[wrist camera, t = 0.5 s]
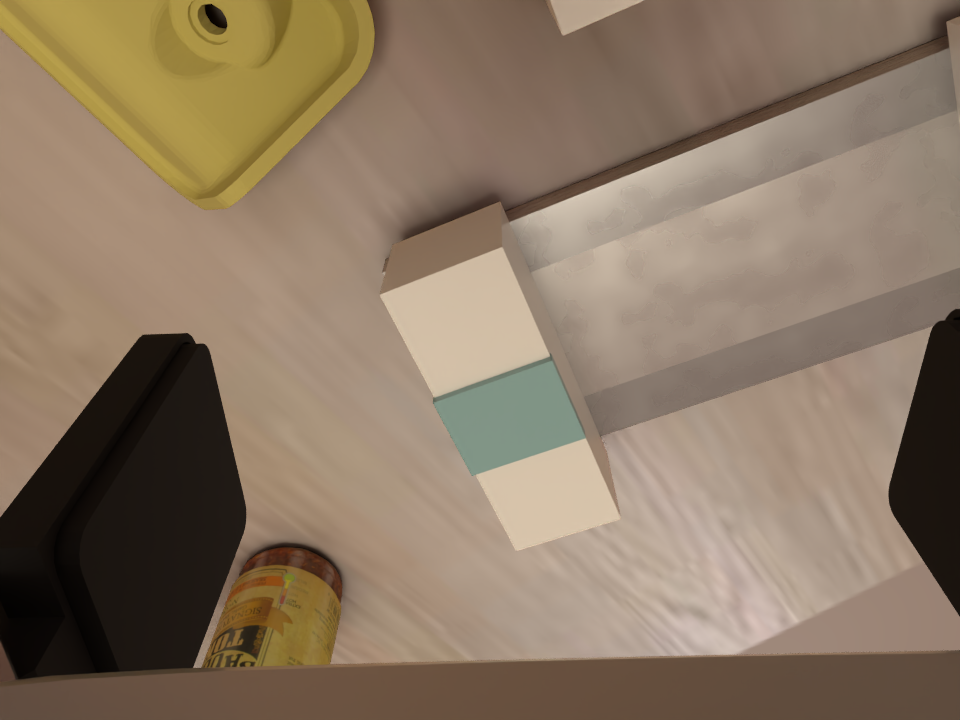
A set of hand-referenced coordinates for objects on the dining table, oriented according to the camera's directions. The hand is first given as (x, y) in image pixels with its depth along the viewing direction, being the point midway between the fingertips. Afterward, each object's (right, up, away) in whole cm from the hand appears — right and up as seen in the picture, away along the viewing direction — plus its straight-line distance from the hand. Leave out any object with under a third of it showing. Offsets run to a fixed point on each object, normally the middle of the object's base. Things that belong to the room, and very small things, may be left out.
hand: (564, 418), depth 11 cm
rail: (+11, +6, +26) cm, 29 cm away
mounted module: (0, +1, +27) cm, 27 cm away
